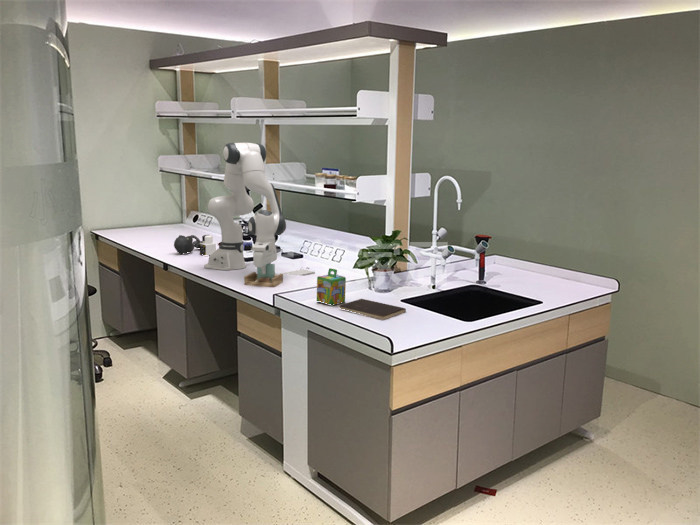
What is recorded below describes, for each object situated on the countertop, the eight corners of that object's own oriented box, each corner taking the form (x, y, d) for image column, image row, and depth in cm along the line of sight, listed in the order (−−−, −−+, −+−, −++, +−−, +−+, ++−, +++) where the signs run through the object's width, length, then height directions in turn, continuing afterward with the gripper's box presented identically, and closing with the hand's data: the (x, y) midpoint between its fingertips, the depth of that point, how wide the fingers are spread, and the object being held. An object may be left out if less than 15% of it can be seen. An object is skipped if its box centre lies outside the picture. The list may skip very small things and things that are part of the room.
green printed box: (316, 302, 269) (316, 269, 266) (330, 298, 276) (330, 266, 273) (331, 306, 263) (331, 272, 260) (346, 302, 270) (346, 269, 267)
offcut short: (258, 281, 295) (258, 278, 295) (260, 280, 299) (260, 277, 299) (268, 282, 295) (268, 279, 294) (270, 280, 298) (270, 277, 298)
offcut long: (254, 284, 296) (254, 281, 296) (257, 282, 300) (257, 279, 300) (267, 285, 295) (267, 282, 294) (270, 283, 298) (270, 280, 298)
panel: (257, 282, 301) (257, 263, 300) (259, 281, 304) (259, 262, 302) (272, 283, 299) (272, 265, 297) (274, 282, 302) (274, 264, 300)
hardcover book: (382, 321, 245) (382, 315, 244) (338, 310, 259) (338, 305, 259) (405, 313, 257) (406, 307, 256) (362, 303, 271) (362, 298, 271)
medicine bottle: (199, 254, 374) (199, 235, 372) (210, 253, 379) (209, 233, 377) (205, 256, 369) (205, 236, 367) (216, 255, 374) (215, 235, 372)
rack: (244, 286, 296) (244, 276, 295) (254, 281, 306) (253, 271, 305) (274, 289, 292) (274, 278, 291) (282, 284, 302) (282, 274, 301)
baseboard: (254, 279, 313) (269, 284, 305) (253, 274, 313) (269, 278, 305) (299, 271, 335) (315, 274, 327) (299, 265, 335) (315, 269, 327)
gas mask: (205, 264, 388) (180, 251, 366) (195, 262, 392) (169, 250, 370) (212, 242, 391) (186, 229, 370) (201, 241, 395) (175, 227, 374)
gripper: (268, 240, 308) (268, 268, 311) (250, 247, 289) (251, 276, 292) (279, 241, 307) (280, 269, 310) (263, 248, 287) (263, 277, 290)
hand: (266, 272), depth 301 cm, fingers closed on panel, 2 cm apart
